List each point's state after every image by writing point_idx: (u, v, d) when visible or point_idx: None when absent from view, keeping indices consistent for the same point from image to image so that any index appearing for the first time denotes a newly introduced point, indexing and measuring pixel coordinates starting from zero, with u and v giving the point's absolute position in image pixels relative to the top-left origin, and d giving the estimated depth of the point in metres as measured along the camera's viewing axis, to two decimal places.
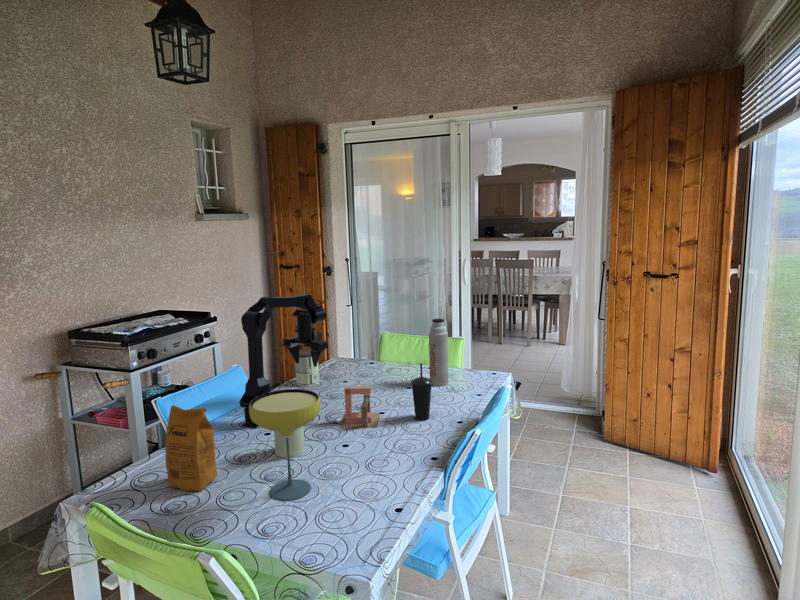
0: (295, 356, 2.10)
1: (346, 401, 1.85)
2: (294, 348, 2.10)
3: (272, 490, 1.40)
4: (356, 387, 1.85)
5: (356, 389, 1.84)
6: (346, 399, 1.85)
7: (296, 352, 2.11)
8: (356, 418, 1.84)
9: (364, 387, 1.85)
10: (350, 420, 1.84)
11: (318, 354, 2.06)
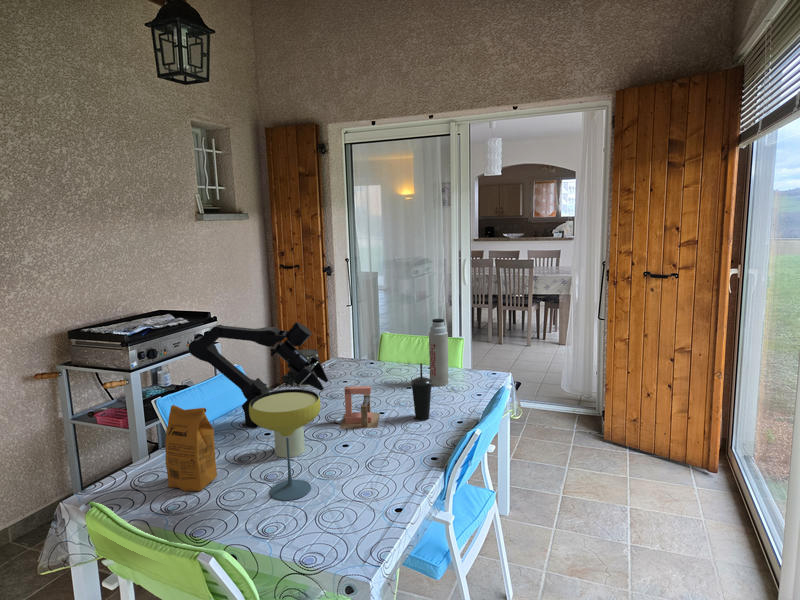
0: None
1: (346, 401, 1.85)
2: None
3: (272, 490, 1.40)
4: (356, 387, 1.85)
5: (356, 389, 1.84)
6: (346, 399, 1.85)
7: None
8: (356, 418, 1.84)
9: (364, 387, 1.85)
10: (350, 420, 1.84)
11: None
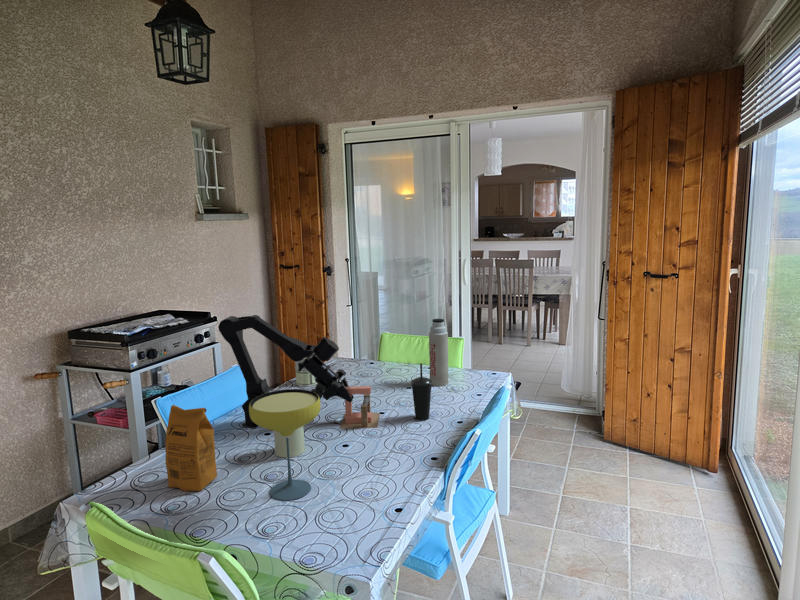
0: None
1: (346, 401, 1.85)
2: None
3: (272, 490, 1.40)
4: (356, 387, 1.85)
5: (356, 389, 1.84)
6: None
7: None
8: (356, 418, 1.84)
9: (364, 387, 1.85)
10: (350, 420, 1.84)
11: None
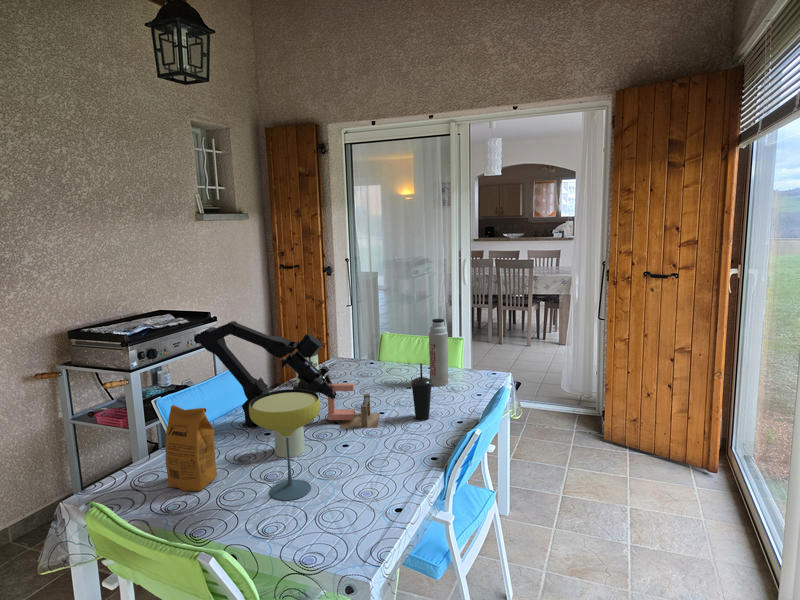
0: None
1: (329, 398, 1.85)
2: None
3: (272, 490, 1.40)
4: (339, 384, 1.85)
5: (339, 386, 1.84)
6: None
7: None
8: (338, 415, 1.84)
9: (347, 384, 1.85)
10: (332, 417, 1.84)
11: None
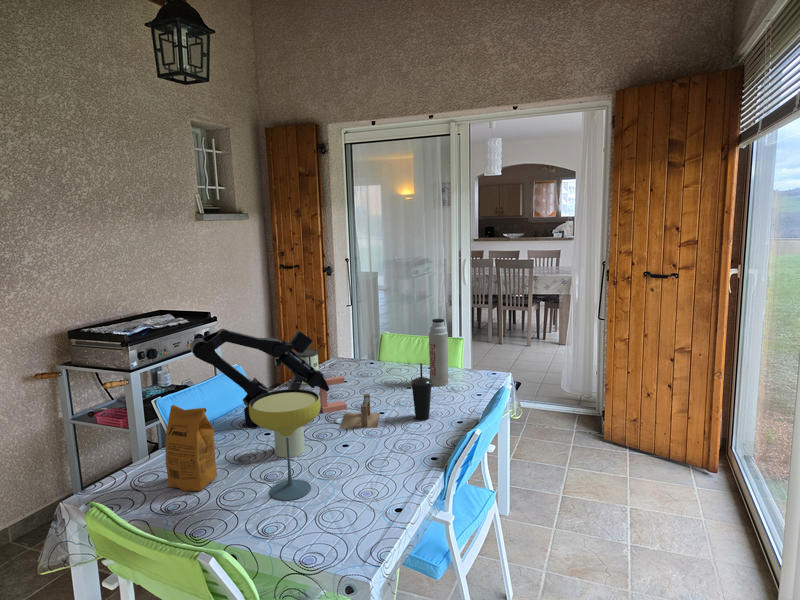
0: None
1: (322, 393, 1.95)
2: None
3: (272, 490, 1.40)
4: (330, 378, 1.97)
5: (332, 380, 1.96)
6: (322, 391, 1.95)
7: None
8: (333, 407, 1.96)
9: (338, 377, 1.98)
10: (328, 410, 1.95)
11: None
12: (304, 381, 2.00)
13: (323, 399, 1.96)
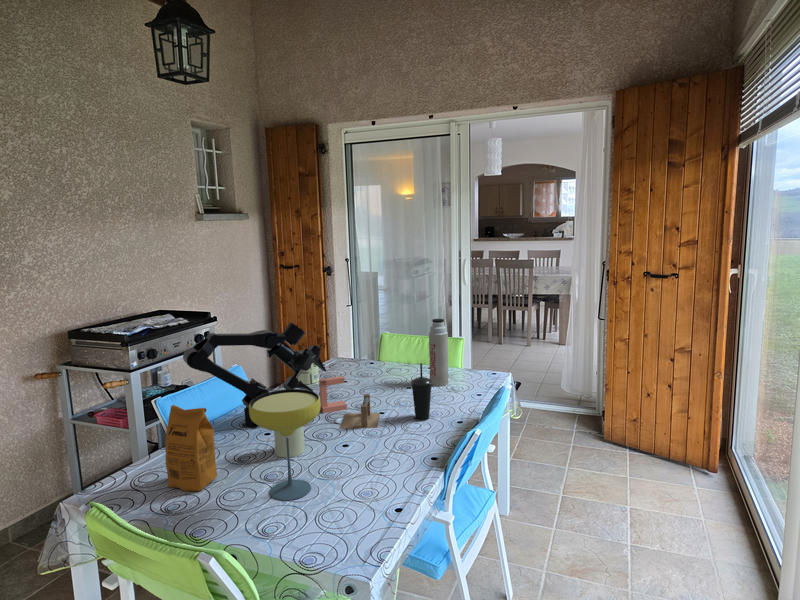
0: None
1: (322, 393, 1.95)
2: (312, 360, 1.98)
3: (272, 490, 1.40)
4: (330, 378, 1.97)
5: (332, 380, 1.96)
6: (322, 391, 1.95)
7: (316, 363, 1.98)
8: (333, 407, 1.96)
9: (338, 377, 1.98)
10: (328, 410, 1.95)
11: None
12: (297, 385, 1.88)
13: (323, 399, 1.96)
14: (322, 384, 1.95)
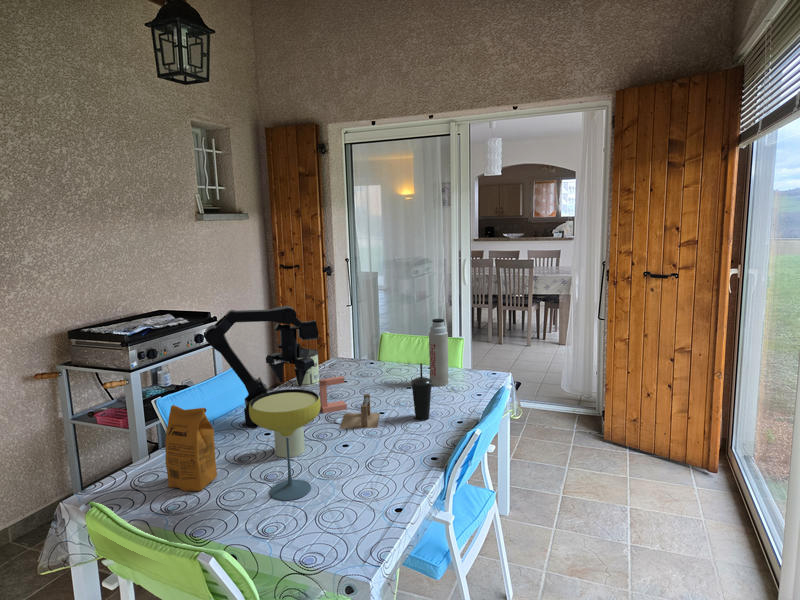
0: (278, 374, 1.92)
1: (322, 393, 1.95)
2: (278, 365, 1.92)
3: (272, 490, 1.40)
4: (330, 378, 1.97)
5: (332, 380, 1.96)
6: (322, 391, 1.95)
7: (280, 370, 1.92)
8: (333, 407, 1.96)
9: (338, 377, 1.98)
10: (328, 410, 1.95)
11: (303, 373, 1.87)
12: None
13: (323, 399, 1.96)
14: (322, 384, 1.95)
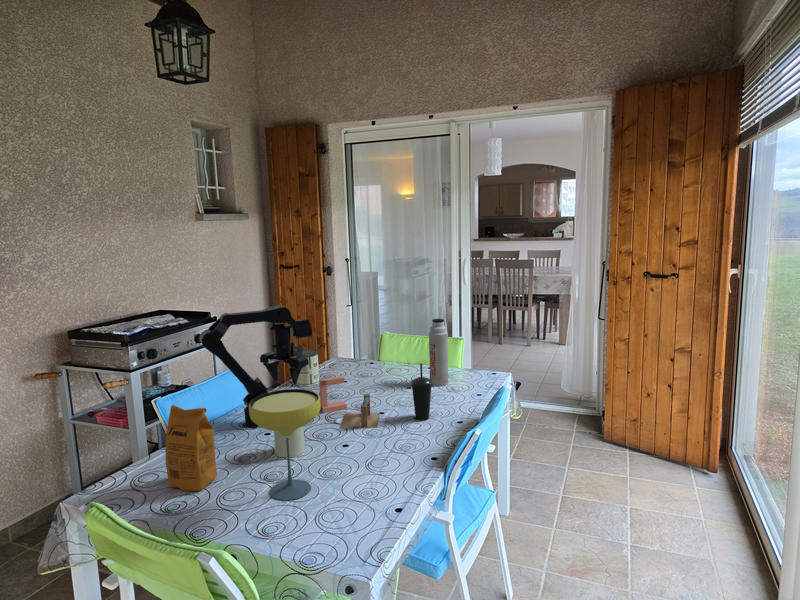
0: (272, 373, 1.92)
1: (322, 393, 1.95)
2: (272, 365, 1.92)
3: (272, 490, 1.40)
4: (330, 378, 1.97)
5: (332, 380, 1.96)
6: (322, 391, 1.95)
7: (274, 369, 1.93)
8: (333, 407, 1.96)
9: (338, 377, 1.98)
10: (328, 410, 1.95)
11: (298, 371, 1.88)
12: None
13: (323, 399, 1.96)
14: (322, 384, 1.95)
